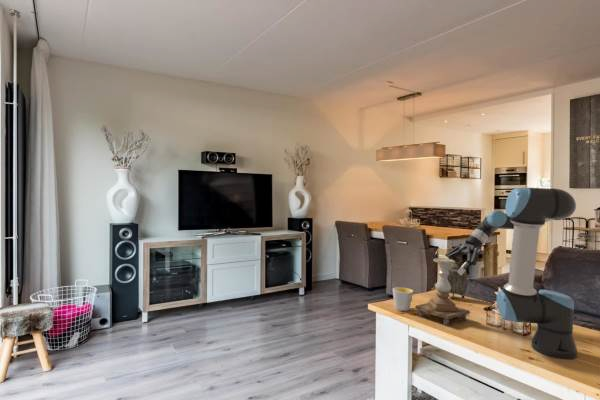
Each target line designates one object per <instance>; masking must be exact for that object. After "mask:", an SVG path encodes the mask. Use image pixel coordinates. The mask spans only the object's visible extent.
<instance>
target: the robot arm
mask: <svg viewBox="0 0 600 400" xmlns="http://www.w3.org/2000/svg"><path fill="white" fill-rule="evenodd" d="M576 208H577V203H576V200H575V199H574V197H573V195H572V194H570V193H569V192H567V191H566V190H564V189H560V188H548V187H546V188H545V187H516V188H514V189H512V190H511V191H510V192H509V193H508V196H507V198H506V202H505V211H502V210H500V209H497V210H493V211H491V212H490V213H489V214H488V215H487V216H486V217H484V218H483V220H482V221H481V222H480V223H479V225H478V226H477V227H476V228H475V229H474V230H473V231H472V232H471V233H470V235H469V236H468V237H467V238H466V239H465V244H462V243H459V244H458V245H457V246H456V247H454V248H452V249H451V250H450V251H449V252H447V253H445V254H444V255H445V257H446V258H445V259H452V260H454V259H455V258H456V257H459V256H464V255H466V257H467V258H466V261H465V262H464V263H463V264H462V265H461V266H459V268H460V269H459V270H458V271H457V272H458V273H459V274H460V275H462V274H463V273H464V272H465V271H466V272H467V270H468V269H469V268H470V267H471V266H476V265H477V262H478V259H479V255H480V254H481V253H482V250H481V248H482V247H483V245H484V244H486V242H487V241H488V240H489V239H490V237H491V236H492V235H493V234H494V233H495V232H497V230H499V229H502V230H505V229H506V230H513V233H512V240H511V241H512V242H511V254H510V263H509V272H508V282H507V283H506V284H504V285H503V288H502V289H503V290H499V291H497V293H496V306H497V309H498V312H499V314H500V316H501V318H502V319H503V320H504V321H507V322H514V323H526V324H528V323H529V324H536V325H537V326H536V330H535V332H534V335H533V337H531V341H530V343H531V348H532V349H533V350H535V351H536V352H538V353H540V354H543V355H546V356H549V357H553V358H557V359H567V360H568V359H570V360H572V359H576V358H577V357H578V348H577V345H576V341H575V340H574V339H575V338H574V336H573V331H574V330H573V329H574V312H575V304H574V303H575V302H574V299H573V298H572V297H571V296H569V295H567V294H564V293H561V292H557V291H553V290H548V289H539V290H538V291H537V290H536V289H535V288H534V281H535V272H536V265H537V255H538V246H539V236H540V228H542V227H543V226H545V223H548V222H550V221H553V220H554V221H562V220H564V219H568V218H569V217H571V216H572V215H573V214H574V213H575V211H576ZM450 257H451V258H450Z"/></svg>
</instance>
